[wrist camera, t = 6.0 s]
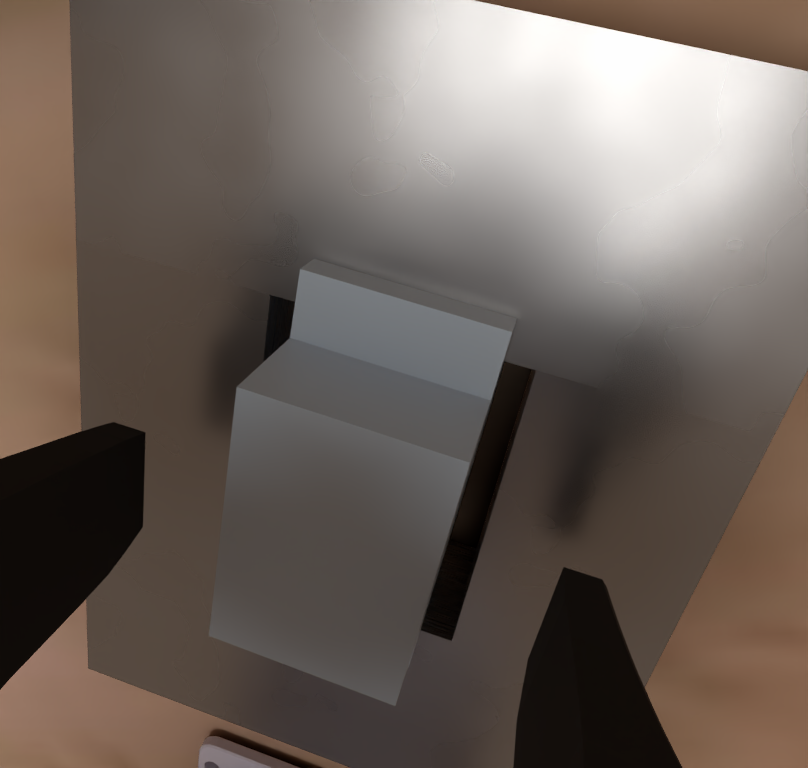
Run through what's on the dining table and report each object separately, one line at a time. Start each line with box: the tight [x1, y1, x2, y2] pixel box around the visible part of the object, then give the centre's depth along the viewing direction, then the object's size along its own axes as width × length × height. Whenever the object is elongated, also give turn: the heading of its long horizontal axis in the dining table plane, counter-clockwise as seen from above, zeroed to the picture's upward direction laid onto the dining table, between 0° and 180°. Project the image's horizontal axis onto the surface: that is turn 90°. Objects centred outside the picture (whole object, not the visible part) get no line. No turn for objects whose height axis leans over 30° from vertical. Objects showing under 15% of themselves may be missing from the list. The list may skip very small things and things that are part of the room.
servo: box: [209, 259, 517, 706], centre depth 13 cm, size 8×3×6 cm, turn 168°
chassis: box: [70, 0, 808, 768], centre depth 15 cm, size 16×12×3 cm
